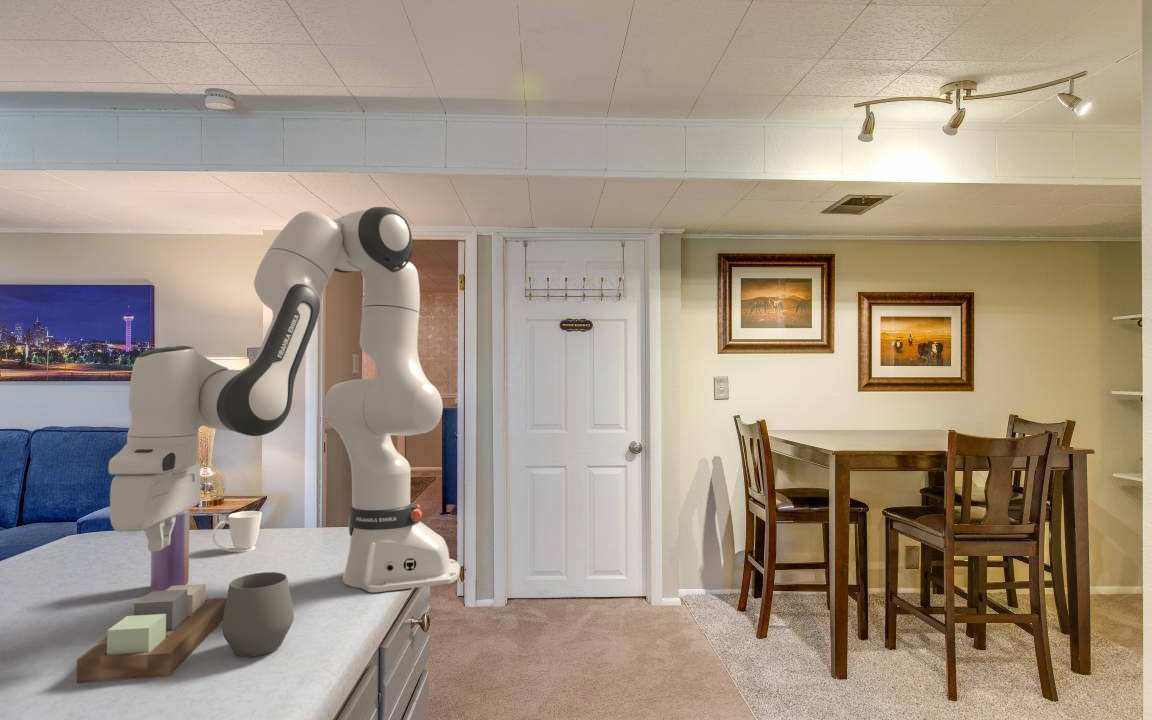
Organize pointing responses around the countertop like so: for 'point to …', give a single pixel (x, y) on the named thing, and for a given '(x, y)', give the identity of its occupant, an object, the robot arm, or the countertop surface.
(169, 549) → the beverage can
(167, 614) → the graphite key
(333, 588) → the countertop surface
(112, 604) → the countertop surface
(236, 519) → the cup
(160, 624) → the sage key
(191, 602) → the ivory key
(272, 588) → the cup
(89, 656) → the wooden tray
